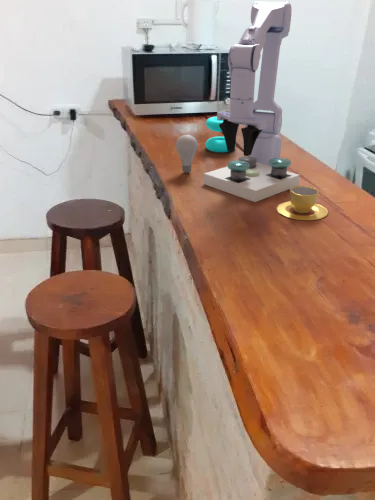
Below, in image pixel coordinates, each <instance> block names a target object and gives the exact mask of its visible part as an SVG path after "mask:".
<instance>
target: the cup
mask: <svg viewBox="0 0 375 500" xmlns="http://www.w3.org/2000/svg"><path fill="white" fill-rule="evenodd" d="M318 195H319V190H318V189H317V188H315V187H312V186H307V185H299V186H295V187H292V188H291V189H289V198H290V200H289V201H284V202H281V203H280V204H278V205H277V206H276V211H277V213H278V214H280V215H281V216H284V217H286V218H289V219H293V220H296V221H297V220H298V221H316V220H321V219H324V218H326V217H327V216H328V214H329V211H328V209H327V208H326V207H324V206H323V205H321V204H318V203H317V199H318ZM291 208H292V209H293V210H294V211H295V212H296V213H298V214H295V213H292V211H290V210H291ZM312 210H313V211H314V213H313V214H310V215H303V214H309V213H310V212H311V211H312ZM299 214H302V215H299Z"/></svg>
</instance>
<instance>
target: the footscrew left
mask: <svg viewBox="0 0 375 500" xmlns="http://www.w3.org/2000/svg"><path fill="white" fill-rule="evenodd" d="M291 163H292V162H291V159H290V158H286V157H280V158H271V159H270V160H269V165H270V166H272V170H271V177H273V178H276V179H279V180H281V179H284V178H286V174H287V171H288V168H289V167H290V166H291Z"/></svg>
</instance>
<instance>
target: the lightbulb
mask: <svg viewBox="0 0 375 500" xmlns="http://www.w3.org/2000/svg"><path fill="white" fill-rule="evenodd" d="M198 146H199V144H198V141H197V139H196V137H195V136H193V135H191V134H183V135H181V136H179V137H178V139H177V140H176V143H175V149H176V151H177V153H178V155H179V157H180V163H181V169H182V172H184V173H185V174H189V173H190V172H191V171H192V165H193V160H194V156H195V154H196V153H197V150H198V148H199V147H198Z"/></svg>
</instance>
